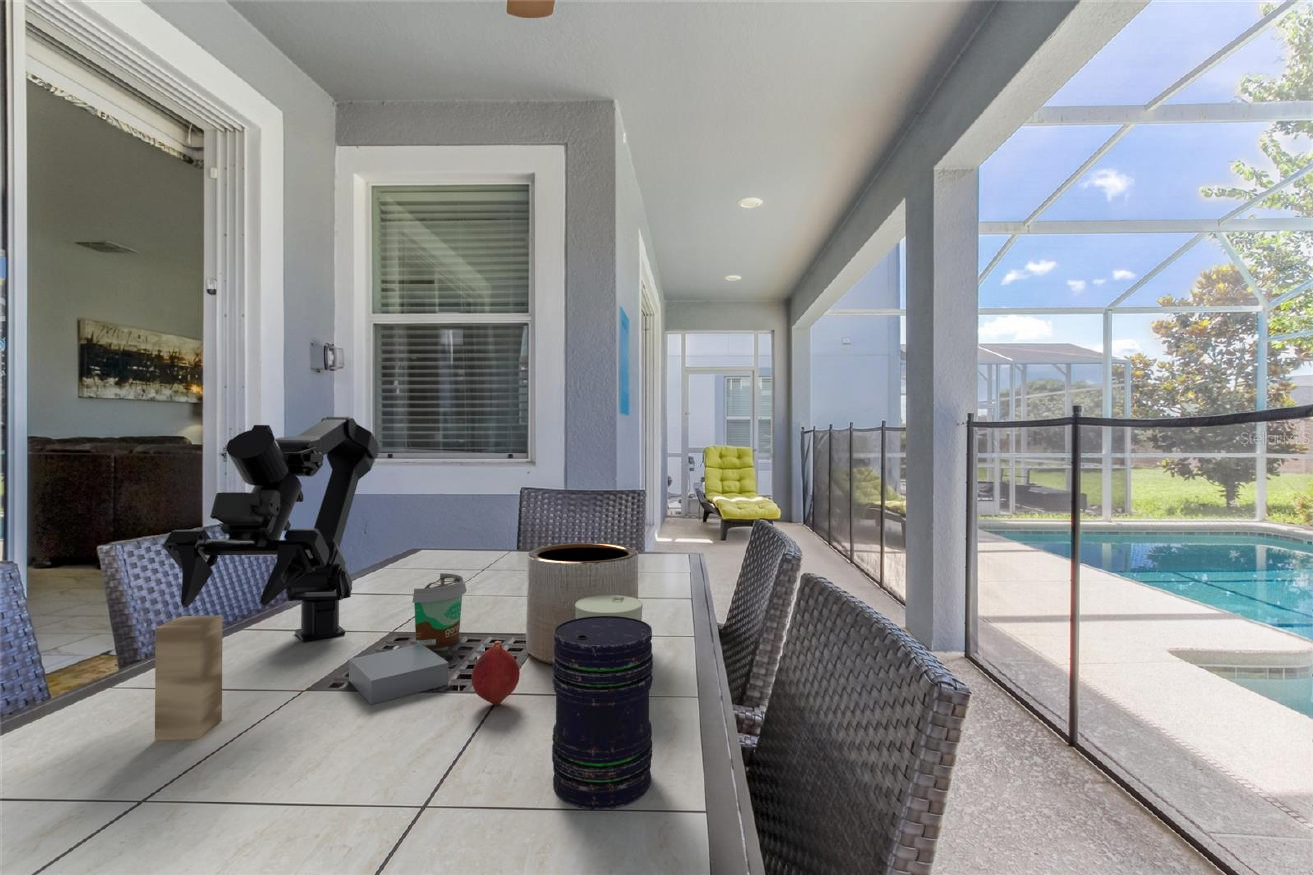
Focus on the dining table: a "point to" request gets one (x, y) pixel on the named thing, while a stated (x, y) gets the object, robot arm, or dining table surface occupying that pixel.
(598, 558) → the planter
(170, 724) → the oak block
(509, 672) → the onion
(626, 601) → the can
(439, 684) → the plate
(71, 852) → the dining table surface
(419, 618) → the food container
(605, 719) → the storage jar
